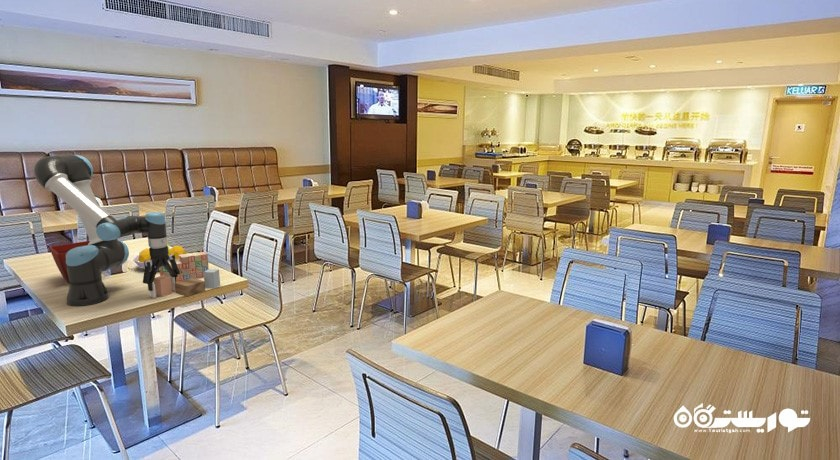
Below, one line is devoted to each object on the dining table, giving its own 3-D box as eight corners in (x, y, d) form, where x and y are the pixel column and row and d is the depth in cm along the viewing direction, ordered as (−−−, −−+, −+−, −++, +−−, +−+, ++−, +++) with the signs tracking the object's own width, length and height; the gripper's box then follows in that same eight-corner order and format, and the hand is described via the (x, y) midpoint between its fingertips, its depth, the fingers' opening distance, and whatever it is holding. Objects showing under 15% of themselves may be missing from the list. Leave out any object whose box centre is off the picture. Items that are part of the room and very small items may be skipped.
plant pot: (62, 287, 221) (57, 253, 218) (54, 278, 234) (48, 246, 230) (109, 278, 235) (105, 246, 232) (98, 270, 248) (94, 240, 244)
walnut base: (187, 296, 213) (186, 286, 212) (175, 293, 218) (174, 282, 217) (205, 291, 221) (204, 281, 220) (193, 287, 225) (192, 277, 224)
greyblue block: (214, 288, 224) (213, 272, 222) (204, 287, 225) (203, 271, 223) (220, 285, 229) (218, 269, 227) (210, 284, 229) (209, 268, 228)
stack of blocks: (163, 284, 229) (160, 260, 226) (160, 281, 233) (158, 257, 231) (209, 276, 242) (207, 253, 239) (206, 273, 247) (204, 251, 244)
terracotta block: (162, 296, 212) (160, 279, 210) (154, 294, 214) (152, 278, 212) (172, 293, 217) (170, 276, 215) (164, 291, 219) (163, 275, 217)
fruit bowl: (174, 274, 245) (172, 253, 242) (123, 273, 245) (120, 252, 243) (200, 259, 272) (198, 240, 269) (154, 258, 272) (152, 239, 270)
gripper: (140, 253, 199) (146, 302, 204) (185, 242, 219) (189, 287, 224) (129, 251, 202) (135, 299, 207) (174, 240, 222) (179, 285, 227)
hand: (163, 293), depth 215 cm, fingers open, 9 cm apart
